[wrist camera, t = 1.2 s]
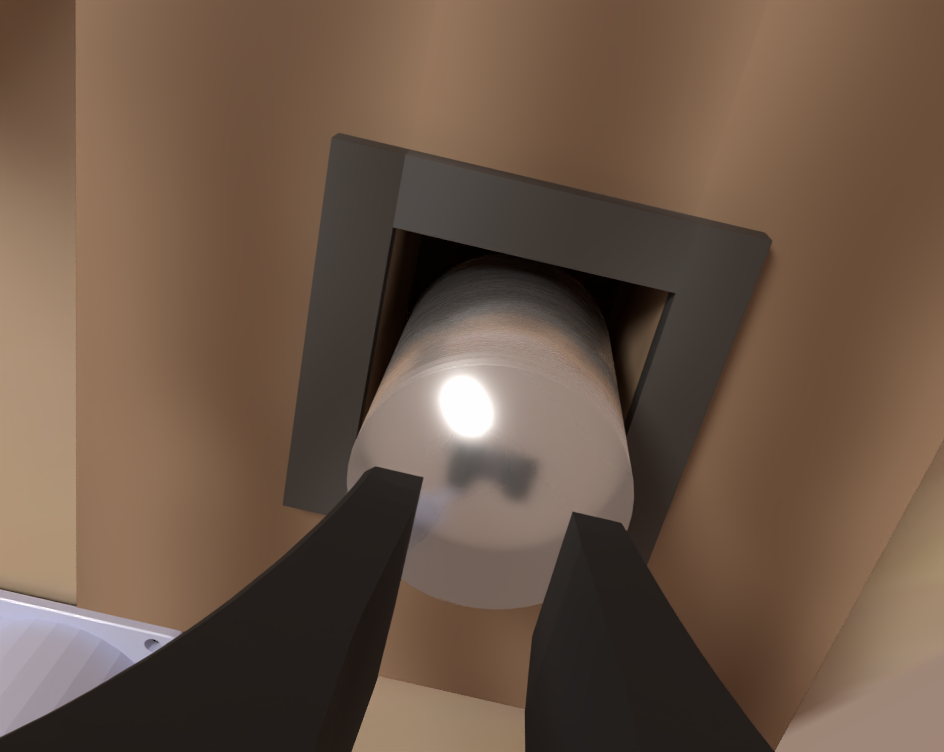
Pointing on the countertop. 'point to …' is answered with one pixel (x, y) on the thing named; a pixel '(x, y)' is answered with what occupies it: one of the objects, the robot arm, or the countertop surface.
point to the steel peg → (499, 428)
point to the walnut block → (528, 236)
